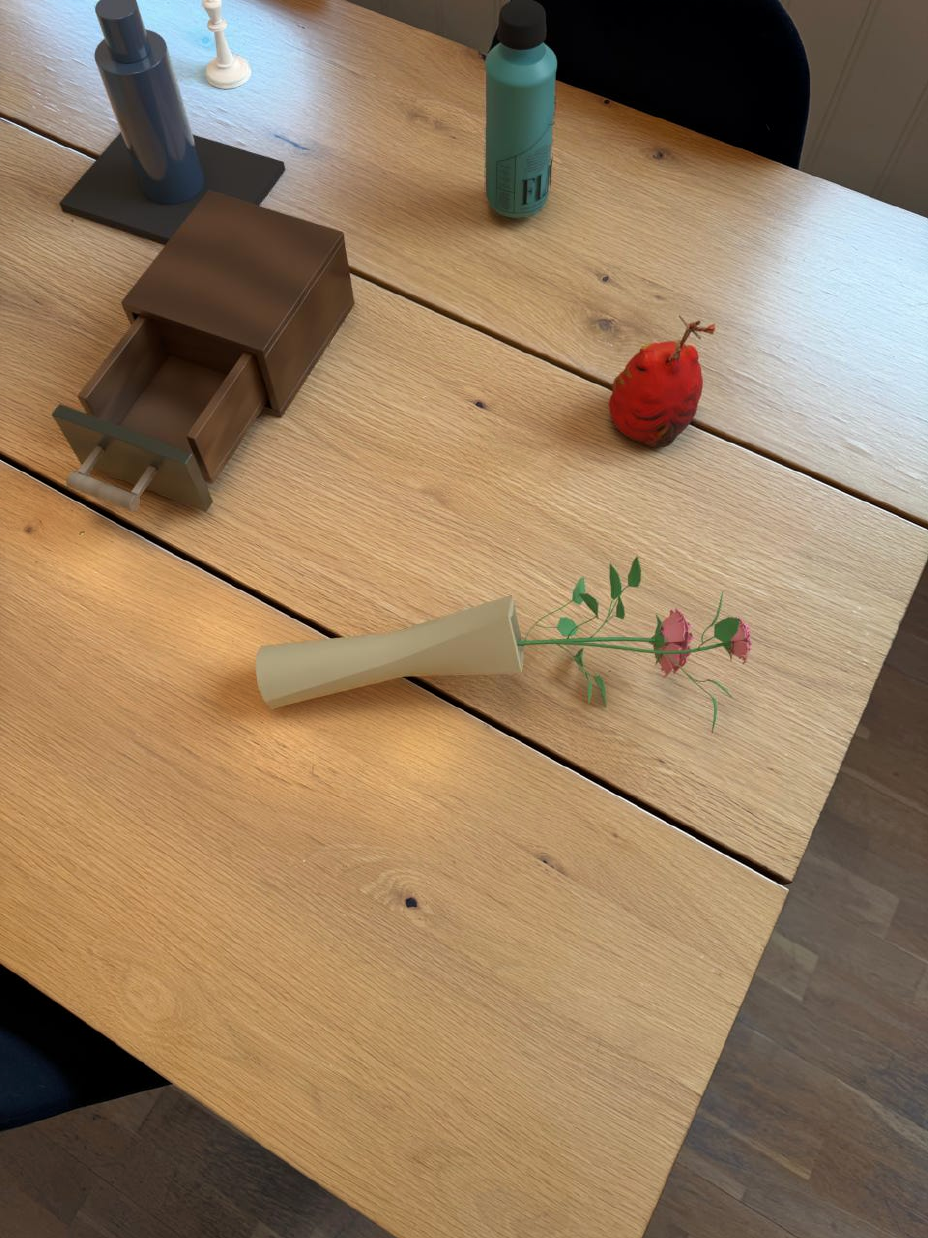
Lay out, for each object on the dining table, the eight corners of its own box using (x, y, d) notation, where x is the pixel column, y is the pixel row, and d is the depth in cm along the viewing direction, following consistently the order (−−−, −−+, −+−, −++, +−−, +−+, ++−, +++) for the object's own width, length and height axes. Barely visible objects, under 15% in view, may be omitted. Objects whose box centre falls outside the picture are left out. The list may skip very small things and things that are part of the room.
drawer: (180, 552, 83) (156, 506, 77) (53, 502, 85) (20, 453, 79) (283, 394, 90) (268, 340, 84) (163, 352, 93) (141, 297, 86)
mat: (62, 210, 102) (58, 202, 101) (136, 124, 108) (133, 116, 107) (217, 261, 99) (215, 253, 98) (285, 169, 105) (284, 161, 104)
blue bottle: (129, 194, 102) (63, 18, 86) (162, 154, 104) (104, -24, 88) (184, 212, 101) (127, 36, 85) (216, 170, 103) (167, -7, 87)
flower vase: (317, 686, 86) (735, 614, 80) (301, 808, 78) (768, 738, 72) (263, 590, 78) (724, 501, 72) (239, 714, 70) (760, 626, 63)
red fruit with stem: (675, 381, 91) (709, 252, 78) (706, 442, 88) (746, 318, 75) (596, 402, 90) (615, 274, 77) (624, 464, 87) (650, 343, 74)
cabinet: (281, 417, 90) (262, 351, 82) (150, 371, 93) (120, 302, 85) (354, 303, 96) (343, 231, 88) (229, 263, 99) (208, 189, 91)
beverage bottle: (519, 241, 99) (527, 45, 82) (469, 209, 101) (466, 12, 84) (562, 206, 101) (579, 8, 84) (512, 175, 104) (519, -24, 86)
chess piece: (233, 53, 113) (212, -39, 104) (260, 74, 111) (241, -18, 103) (197, 73, 112) (172, -19, 103) (224, 95, 110) (201, 3, 101)
